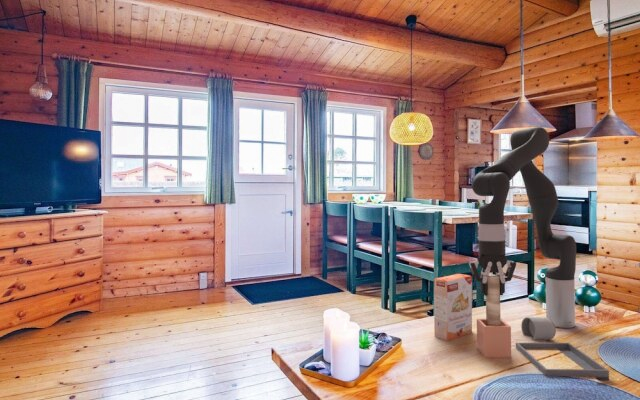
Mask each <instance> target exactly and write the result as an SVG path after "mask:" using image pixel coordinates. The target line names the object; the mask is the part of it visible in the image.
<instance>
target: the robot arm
mask: <svg viewBox="0 0 640 400" xmlns="http://www.w3.org/2000/svg"><path fill="white" fill-rule="evenodd" d="M549 137H550V136H549V133H548V131H547V130H546V129H545V127H540V126H535V127H528V128H523V129H518V130H515V131H513V132H512V133H511V134H510V139H509V142H510V147H511V151H508V152H507V153H505V154H503V155H502V156H500V157H499V159H497V160H496V161H495V163H494V164H493V165H491V166H489V167H486V168H484V169H483V170H481V171H479V172H478V173H477V174H476V175H475V176H474V177H473V179H472V182H471V189H472V192H473V193H475V195H477V196H479V197H492V200H491V201H490V202H489V203H484V204H482V205H480V206H479V208H478V230H477V231H478V235H477V237H478V238H477V239H478V240H477V241H478V257H477V258H476V259H477V260H473V261H471V260H470V261H469V262H468V266H469V269H470V271H471V274H472V276H473V277H472V278H473V279H474V280H475V281H476V282H479V283H480V293H481V294H483V296H485V297H486V296H487V283H486V282H487V278H488V276H489V275H490V273H495V275H499V276H500V296H503V295H504V294H505V293H506V289H505V288H506V287H505V286H506V283H507V282H511V280H513V279H512V278H513V277H514V274H515V270H516V267H517V262H516V261H513V260H509V259H507V257H506V229H505V207H506V203H507V198H508V195H509V191H510V187H511V182H510V181H511V180H512V179H513V178H514V177H515V176H516V175H517V174H518V173H519V172H520V174H521V177H522V181H523V185H524V188H525V191H526V196H527V197H526V198H527V199H528V203H529V206H530V209H531V213H532V217H533V219H534V222H535V223H534V224H535V228H536V234H537V239H538V245H539V249H540V252H541V255H542V256H543V257H544V258H545V259H550V260H551V259H552V260H559V265H558V266H555V267H549V268H547V269H546V270H545V315H546V316H545V318H548V319H550V320H552V322H553V323H554V325H555V328H561V329H562V328H564V329H566V328H567V329H570V328H574V327H575V326H576V301H575V300H576V295H575V291H576V287H575V273H576V265H577V264H576V263H577V262H576V261H577V243H576V239H575V238H574V237H573V236H572V235H568V234H554V232H552V227H551V223H552V219H553V218H554V216H555V213H556V211H557V209H558V206H559V198H558V193H557V190H556V187H555V185H554V184H555V183H553V181H552V180H551V179H550V178H549V177H548V176H547V175H545V174H544V173H543V172H542V171H541V170H540V169H539V168H538V167H537V166H536V165H535V163H534V162H533V160H534V159H536V158H537V157H539V156H540V155H542V154H543V153H545V152H546V151H547V150H548V148H549V144H550V138H549ZM478 265H479V266H480V267H481V268H482V269H481V271H480V275H479V272H478V267H479V266H478ZM505 266H506V267H507V268H506V270H505V271H506V272H505V274H504V270H503V268H504V267H505Z"/></svg>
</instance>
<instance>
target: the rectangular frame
mask: <svg viewBox="0 0 640 400" xmlns="http://www.w3.org/2000/svg"><path fill="white" fill-rule="evenodd" d="M515 349H516V350H518V351H519V352H520V354H522V355H523V356H524V357H525V358H526V359H527V360H528V361H529V362H530V363H531V364H532V365H534V366H535V368H537V369H538V370H539V371H540V372H541V373H542V374H543V376H545V377H546V376H547V377H593V378H595V380H598V381H609V380H610V370H609V369H607V368H605V366H603V365H601V364H600V363H599V362H597V361H596V360H595V359H593V358H591V357H590V356H588V355H587V354H586V353H584V352H583V351H581V350H580V349H579V348H577V347H575V346H574V345H573V344H571V343H570V342H515ZM526 349H557V350H558V351H559V352H560V353H562V354H563V355H564V356H565V357H567V358H568V359H569V360H571V361H572V362H574V363H575V364H576V365H577V366H578V367H580V368H578V369H577V368H575V369H574V368H570V369H569V368H546V367H545V366H544V365H543V364H542V363H541V362H539V360H537V359H536V358H535V357H534V356H533V355H532V354H531V353H530V352H528V351H527V350H526Z"/></svg>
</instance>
